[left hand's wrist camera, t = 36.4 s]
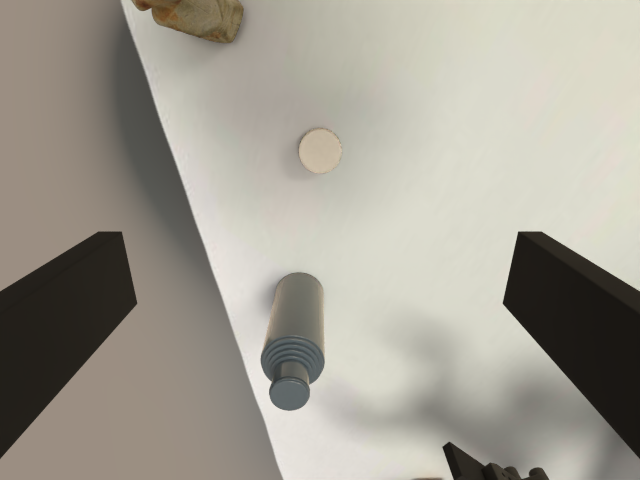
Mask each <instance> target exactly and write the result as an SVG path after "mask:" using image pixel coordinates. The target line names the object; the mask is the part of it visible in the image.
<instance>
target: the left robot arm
mask: <svg viewBox="0 0 640 480" xmlns="http://www.w3.org/2000/svg"><path fill="white" fill-rule="evenodd" d="M136 304H137V300H136V295H135V291H134V286H133V282H132V277H131V272H130V268H129V263H128V258H127V254H126V249H125V244H124V240H123V235H122V232H97V233H96V234H94V235H92V236H91V237H89V238H87V239H86V240H84V241H82V242H81V243H79V244H77V245H76V246H74V247H72V248H71V249H69V250H68V251H66V252H64V253H63V254H61V255H59V256H58V257H56V258H54V259H53V260H51V261H50V262H48V263H46V264H45V265H43V266H41V267H40V268H38V269H36V270H35V271H33V272H31V273H30V274H28V275H26V276H25V277H23V278H22V279H20V280H18V281H17V282H15V283H13V284H12V285H10V286H8V287H7V288H5V289H3V290H2V291H0V458H1V457H2V456H3V455H4V454H5V453H6V452H7V450H8V449H9V448H10V447H11V446H12V445H13V444H14V443H15V441H16V440H17V439H18V438H19V437H20V436H21V435H22V433H23V432H24V431H25V430H26V429H27V428H28V427H29V426H30V424H31V423H32V422H33V421H34V420H35V419H36V418H37V417H38V415H39V414H40V413H41V412H42V411H43V410H44V409H45V407H46V406H47V405H48V404H49V403H50V402H51V401H52V400H53V398H54V397H55V396H56V395H57V394H58V393H59V392H60V391H61V389H62V388H63V387H64V386H65V385H66V384H67V383H68V381H69V380H70V379H71V378H72V377H73V376H74V375H75V374H76V372H77V371H78V370H79V369H80V368H81V367H82V366H83V364H84V363H85V362H86V361H87V360H88V359H89V358H90V357H91V355H92V354H93V353H94V352H95V351H96V350H97V349H98V348H99V346H100V345H101V344H102V343H103V342H104V341H105V340H106V338H107V337H108V336H109V335H110V334H111V333H112V332H113V330H114V329H115V328H116V327H117V326H118V325H119V324H120V323H121V321H122V320H123V319H124V318H125V317H126V316H127V315H128V314H129V312H130V311H131V310H132V309H133V308H134V307H135V306H136ZM503 305H504V306H505V307H506V308H507V309H508V310H509V311H510V312H511V314H512V315H513V316H514V317H515V318H516V319H517V320H518V321H519V323H520V324H521V325H522V326H523V327H524V328H525V329H526V331H527V332H528V333H529V334H530V335H531V336H532V337H533V338H534V340H535V341H536V342H537V343H538V344H539V345H540V346H541V348H542V349H543V350H544V351H545V352H546V353H547V354H548V355H549V357H550V358H551V359H552V360H553V361H554V362H555V363H556V364H557V366H558V367H559V368H560V369H561V370H562V371H563V372H564V374H565V375H566V376H567V377H568V378H569V379H570V380H571V381H572V383H573V384H574V385H575V386H576V387H577V388H578V389H579V391H580V392H581V393H582V394H583V395H584V396H585V397H586V398H587V400H588V401H589V402H590V403H591V404H592V405H593V406H594V407H595V409H596V410H597V411H598V412H599V413H600V414H601V415H602V417H603V418H604V419H605V420H606V421H607V422H608V423H609V424H610V426H611V427H612V428H613V429H614V430H615V431H616V432H617V434H618V435H619V436H620V437H621V438H622V439H623V440H624V441H625V443H626V444H627V445H628V446H629V447H630V448H631V449H632V450H633V452H634V453H635V454H636V455H637V456H638V457H639V458H640V291H638V290H637V289H635V288H633V287H632V286H630V285H628V284H627V283H625V282H623V281H622V280H620V279H618V278H617V277H615V276H614V275H612V274H610V273H609V272H607V271H605V270H604V269H602V268H600V267H599V266H597V265H595V264H594V263H592V262H591V261H589V260H587V259H586V258H584V257H582V256H581V255H579V254H577V253H576V252H574V251H572V250H571V249H569V248H568V247H566V246H564V245H563V244H561V243H559V242H558V241H556V240H554V239H553V238H551V237H549V236H548V235H546V234H545V233H543V232H518V235H517V240H516V244H515V249H514V254H513V258H512V263H511V268H510V272H509V277H508V281H507V286H506V291H505V295H504V300H503Z"/></svg>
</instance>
